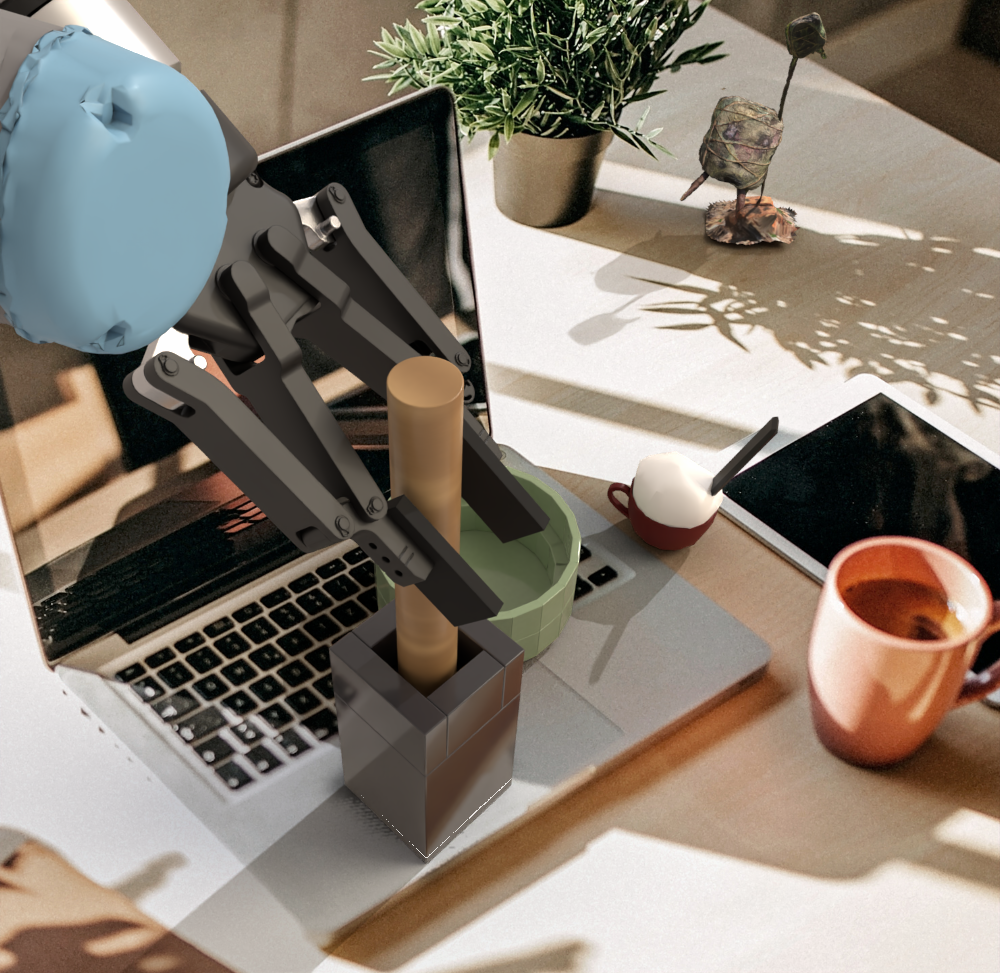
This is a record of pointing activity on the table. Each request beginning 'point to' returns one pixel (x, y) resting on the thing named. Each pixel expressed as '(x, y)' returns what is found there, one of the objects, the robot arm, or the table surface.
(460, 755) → the box
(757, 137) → the bird figurine
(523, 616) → the bowl
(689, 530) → the cocoa
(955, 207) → the table surface
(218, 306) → the robot arm
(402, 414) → the stirring stick
